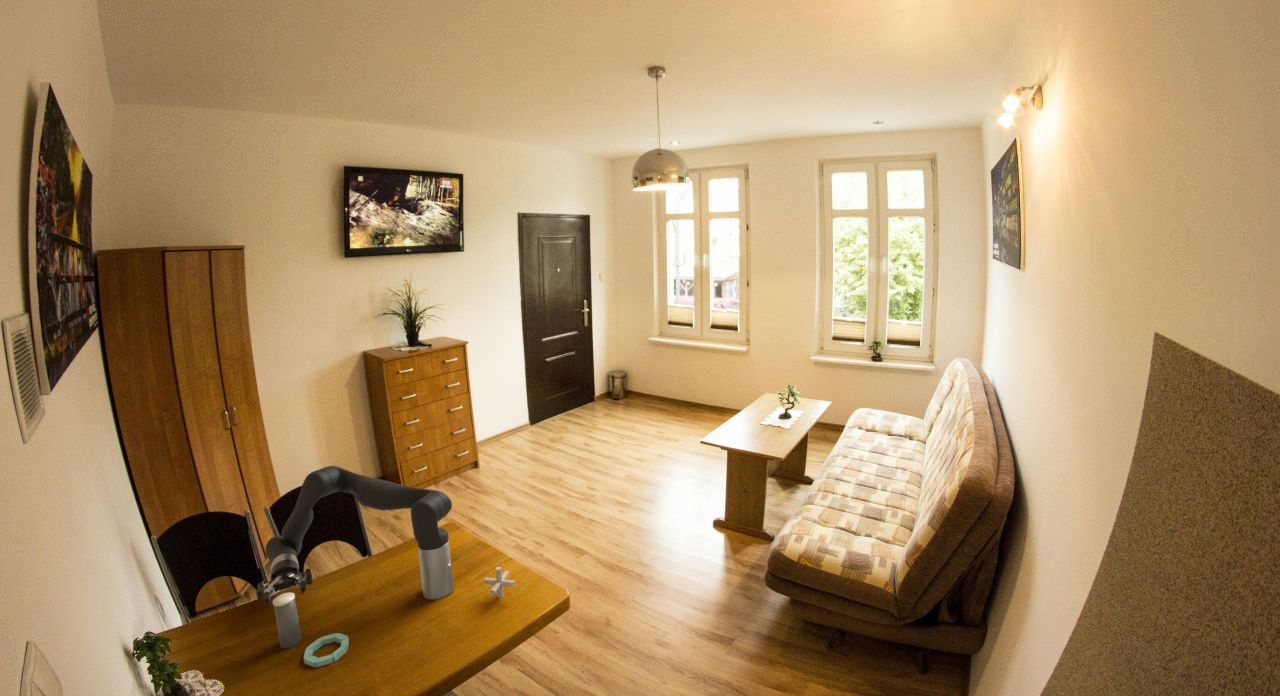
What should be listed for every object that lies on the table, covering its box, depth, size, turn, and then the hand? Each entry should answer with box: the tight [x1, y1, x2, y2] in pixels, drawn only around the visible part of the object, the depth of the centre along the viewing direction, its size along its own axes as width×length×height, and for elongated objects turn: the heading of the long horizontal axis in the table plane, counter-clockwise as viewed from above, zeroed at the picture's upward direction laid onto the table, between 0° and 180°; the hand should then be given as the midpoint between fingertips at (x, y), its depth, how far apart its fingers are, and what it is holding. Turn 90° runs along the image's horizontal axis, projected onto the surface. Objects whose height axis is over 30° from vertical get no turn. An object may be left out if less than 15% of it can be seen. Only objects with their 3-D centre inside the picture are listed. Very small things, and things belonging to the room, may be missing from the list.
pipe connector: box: [483, 566, 516, 599], centre depth 167 cm, size 10×10×10 cm
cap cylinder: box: [272, 591, 302, 650], centre depth 148 cm, size 5×5×14 cm
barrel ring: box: [303, 632, 350, 668], centre depth 145 cm, size 10×10×2 cm
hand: (285, 596), depth 157 cm, fingers open, 8 cm apart
